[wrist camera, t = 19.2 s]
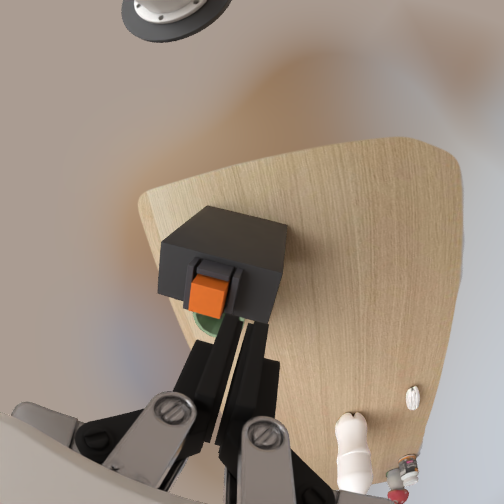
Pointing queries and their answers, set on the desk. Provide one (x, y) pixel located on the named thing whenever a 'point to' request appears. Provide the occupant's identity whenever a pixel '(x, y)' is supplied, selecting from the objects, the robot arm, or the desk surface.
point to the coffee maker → (226, 260)
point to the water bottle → (353, 454)
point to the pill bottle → (408, 470)
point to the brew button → (208, 296)
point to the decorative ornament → (396, 487)
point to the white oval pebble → (413, 398)
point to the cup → (210, 323)
